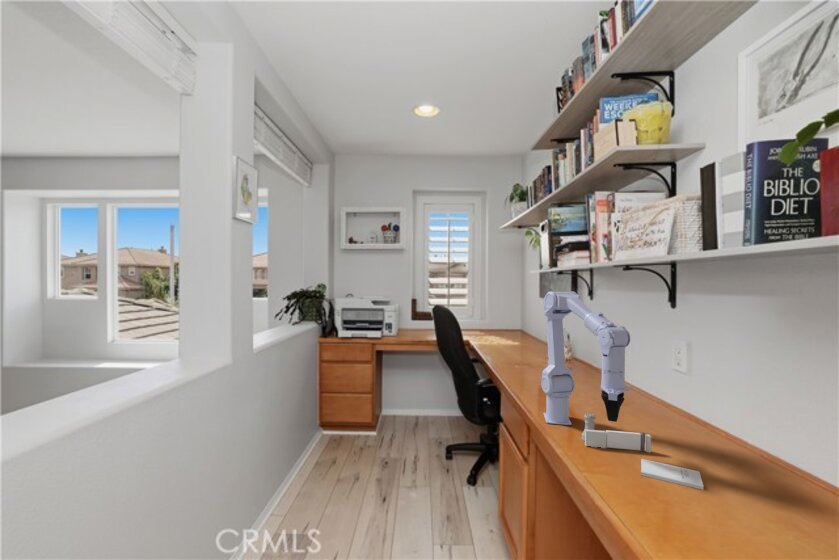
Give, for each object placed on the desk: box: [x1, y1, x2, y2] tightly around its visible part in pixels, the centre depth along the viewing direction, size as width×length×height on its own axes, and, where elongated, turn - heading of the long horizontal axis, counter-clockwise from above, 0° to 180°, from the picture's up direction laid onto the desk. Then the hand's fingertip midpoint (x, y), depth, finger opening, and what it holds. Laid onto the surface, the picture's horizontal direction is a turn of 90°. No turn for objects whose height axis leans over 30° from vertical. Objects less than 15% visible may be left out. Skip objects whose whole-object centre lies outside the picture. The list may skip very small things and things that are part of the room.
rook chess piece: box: [581, 412, 597, 442], centre depth 114 cm, size 4×4×8 cm
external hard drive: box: [640, 458, 704, 491], centre depth 94 cm, size 2×8×12 cm
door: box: [605, 429, 646, 452], centre depth 108 cm, size 1×10×5 cm, turn 79°
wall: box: [584, 428, 652, 454], centre depth 109 cm, size 1×17×4 cm, turn 78°
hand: (612, 419), depth 106 cm, fingers open, 2 cm apart
